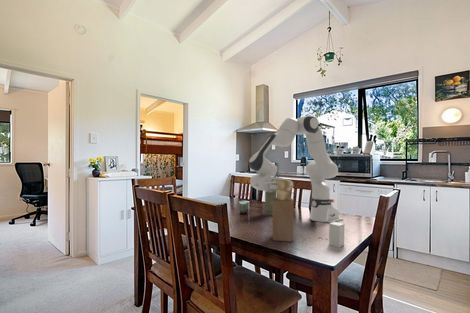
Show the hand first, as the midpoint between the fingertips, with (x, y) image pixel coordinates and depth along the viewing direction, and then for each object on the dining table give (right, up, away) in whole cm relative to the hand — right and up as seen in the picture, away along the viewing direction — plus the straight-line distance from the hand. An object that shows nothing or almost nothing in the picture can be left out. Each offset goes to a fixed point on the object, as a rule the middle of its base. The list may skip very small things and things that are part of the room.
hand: (284, 186), depth 128 cm
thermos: (+1, -27, +56) cm, 62 cm away
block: (-1, -27, +1) cm, 27 cm away
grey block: (+23, -27, -7) cm, 36 cm away
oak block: (0, -6, +1) cm, 7 cm away
